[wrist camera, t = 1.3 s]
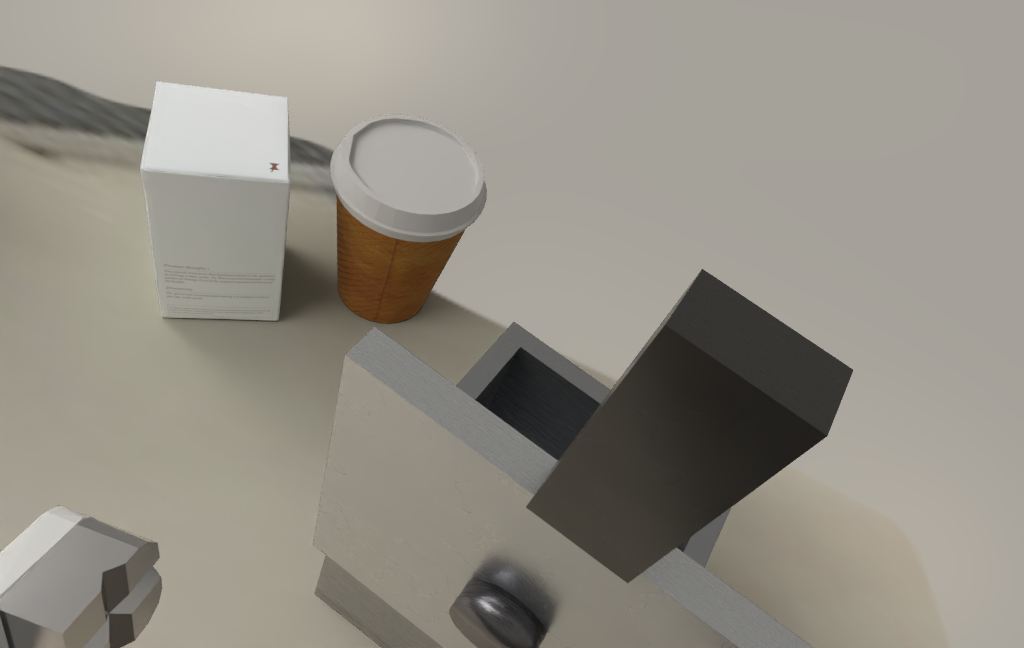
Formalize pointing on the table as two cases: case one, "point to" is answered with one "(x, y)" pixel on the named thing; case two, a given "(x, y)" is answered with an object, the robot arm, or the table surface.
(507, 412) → the open gray square box
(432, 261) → the disposable coffee cup
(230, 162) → the supplement box
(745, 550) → the table surface
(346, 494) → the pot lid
